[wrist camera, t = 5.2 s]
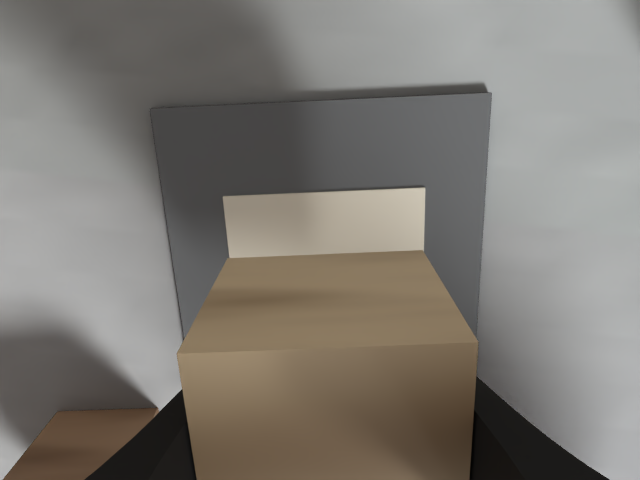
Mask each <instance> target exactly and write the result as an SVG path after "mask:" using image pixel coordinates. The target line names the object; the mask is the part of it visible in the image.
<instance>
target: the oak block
mask: <svg viewBox="0 0 640 480" xmlns="http://www.w3.org/2000/svg"><path fill="white" fill-rule="evenodd" d="M478 343H479V342H478V341H477V339H476V337H475V336H474V334H473V332H472V331H471V329H470V327H469V326H468V324H467V322H466V321H465V319H464V317H463V316H462V314H461V312H460V311H459V309H458V308H457V306H456V304H455V303H454V301H453V299H452V298H451V296H450V294H449V293H448V291H447V289H446V288H445V286H444V284H443V283H442V281H441V279H440V278H439V276H438V275H437V273H436V271H435V270H434V268H433V266H432V265H431V263H430V261H429V260H428V258H427V256H426V255H425V253H424V251H423V250H412V251H388V252H364V253H340V254H316V255H292V256H268V257H244V258H227V260H226V262H225V264H224V266H223V268H222V270H221V271H220V273H219V275H218V277H217V279H216V281H215V283H214V285H213V286H212V288H211V290H210V292H209V294H208V296H207V298H206V300H205V302H204V303H203V305H202V307H201V309H200V311H199V313H198V315H197V317H196V318H195V320H194V322H193V324H192V326H191V328H190V330H189V332H188V334H187V335H186V337H185V339H184V341H183V343H182V345H181V347H180V349H179V350H178V352H177V359H178V365H179V372H180V378H181V384H182V390H183V397H184V403H185V409H186V415H187V422H188V428H189V434H190V441H191V447H192V453H193V459H194V466H195V472H196V478H197V480H469V477H470V462H471V447H472V432H473V417H474V403H475V388H476V373H477V358H478Z"/></svg>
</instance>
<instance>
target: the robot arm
mask: <svg viewBox="0 0 640 480" xmlns="http://www.w3.org/2000/svg"><path fill="white" fill-rule="evenodd" d="M84 480H197V478H196V472H195V466H194V459H193V453H192V447H191V441H190V434H189V428H188V422H187V415H186V409H185V403H184V397H183V390H181V391H180V392H179V393H178V394H177V395H176V396H175V397H174V398H173V399H172V400H171V401H170V402H169V403H168V404H167V405H166V406H165V407H164V408H163V409H162V410H161V411H160V412H159V413H158V414H157V415H156V416H155V417H154V418H153V419H152V420H151V421H150V422H149V423H148V424H147V425H146V426H145V427H144V428H143V429H141V430H140V431H139V432H138V433H137V434H136V435H135V436H134V437H133V438H132V439H131V440H130V441H129V442H127V443H126V444H125V445H124V446H123V447H122V448H121V449H120V450H118V451H117V452H116V453H115V454H114V455H113V456H112V457H111V458H109V459H108V460H107V461H106V462H105V463H104V464H103V465H101V466H100V467H99V468H98V469H97V470H95V471H94V472H93V473H92V474H91V475H89V476H88V477H87V478H86V479H84ZM469 480H609V479H608V478H606V477H605V476H603V475H601V474H600V473H598V472H597V471H595V470H594V469H592V468H590V467H589V466H587V465H586V464H585V463H583V462H582V461H580V460H579V459H577V458H576V457H574V456H573V455H572V454H570V453H569V452H567V451H566V450H565V449H563V448H562V447H561V446H559V445H558V444H557V443H555V442H554V441H553V440H551V439H550V438H549V437H547V436H546V435H545V434H543V433H542V432H541V431H540V430H538V429H537V428H536V427H535V426H533V425H532V424H531V423H530V422H528V421H527V420H526V419H525V418H524V417H522V416H521V415H520V414H519V413H518V412H516V411H515V410H514V409H513V408H512V407H511V406H509V405H508V404H507V403H506V402H505V401H504V400H502V399H501V398H500V397H499V396H498V395H497V394H496V393H495V392H493V391H492V390H491V389H490V388H489V387H488V386H487V385H486V384H484V383H483V382H482V381H481V380H480V379H479V378H478V377H476V388H475V403H474V417H473V432H472V447H471V462H470V477H469Z"/></svg>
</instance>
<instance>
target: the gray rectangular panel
mask: <svg viewBox="0 0 640 480" xmlns="http://www.w3.org/2000/svg"><path fill="white" fill-rule="evenodd" d="M491 99H492V93H469V94H447V95H426V96H405V97H383V98H362V99H340V100H319V101H297V102H276V103H255V104H233V105H212V106H190V107H169V108H151V109H150V115H151V121H152V128H153V135H154V141H155V148H156V155H157V161H158V168H159V174H160V181H161V188H162V194H163V201H164V207H165V214H166V221H167V227H168V234H169V241H170V247H171V254H172V260H173V267H174V274H175V280H176V287H177V294H178V300H179V307H180V313H181V320H182V327H183V333H184V339H185V337H186V335H187V334H188V332H189V330H190V328H191V326H192V324H193V322H194V320H195V318H196V317H197V315H198V313H199V311H200V309H201V307H202V305H203V303H204V302H205V300H206V298H207V296H208V294H209V292H210V290H211V288H212V286H213V285H214V283H215V281H216V279H217V277H218V275H219V273H220V271H221V270H222V268H223V266H224V264H225V262H226V260H227V258H244V257H268V256H292V255H316V254H340V253H364V252H388V251H412V250H423V251H424V253H425V255H426V256H427V258H428V260H429V261H430V263H431V265H432V266H433V268H434V270H435V271H436V273H437V275H438V276H439V278H440V279H441V281H442V283H443V284H444V286H445V288H446V289H447V291H448V293H449V294H450V296H451V298H452V299H453V301H454V303H455V304H456V306H457V308H458V309H459V311H460V312H461V314H462V316H463V317H464V319H465V321H466V322H467V324H468V326H469V327H470V329H471V331H472V332H473V334H474V336H475V337H476V331H477V316H478V300H479V285H480V269H481V254H482V238H483V223H484V207H485V192H486V176H487V161H488V145H489V130H490V114H491Z"/></svg>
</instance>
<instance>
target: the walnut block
mask: <svg viewBox="0 0 640 480" xmlns="http://www.w3.org/2000/svg"><path fill="white" fill-rule="evenodd" d="M158 413H159V410H158V408H139V409H111V410H82V411H58V412H57V413H56V414H55V415H54V416H53V418H52V419H51V420H50V421H49V423H48V424H47V425H46V426H45V428H44V429H43V430H42V431H41V433H40V434H39V435H38V436H37V438H36V439H35V440H34V441H33V443H32V444H31V445H30V446H29V448H28V449H27V450H26V451H25V453H24V454H23V455H22V456H21V458H20V459H19V460H18V461H17V463H16V464H15V465H14V466H13V467H12V469H11V470H10V471H9V472H8V474H7V475H6V476H5V477H4V479H3V480H84V479H86V478H87V477H88V476H89V475H91V474H92V473H93V472H94V471H95V470H97V469H98V468H99V467H100V466H101V465H103V464H104V463H105V462H106V461H107V460H108V459H109V458H111V457H112V456H113V455H114V454H115V453H116V452H117V451H118V450H120V449H121V448H122V447H123V446H124V445H125V444H126V443H127V442H129V441H130V440H131V439H132V438H133V437H134V436H135V435H136V434H137V433H138V432H139V431H140V430H141V429H143V428H144V427H145V426H146V425H147V424H148V423H149V422H150V421H151V420H152V419H153V418H154V417H155V416H156V415H157V414H158Z"/></svg>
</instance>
